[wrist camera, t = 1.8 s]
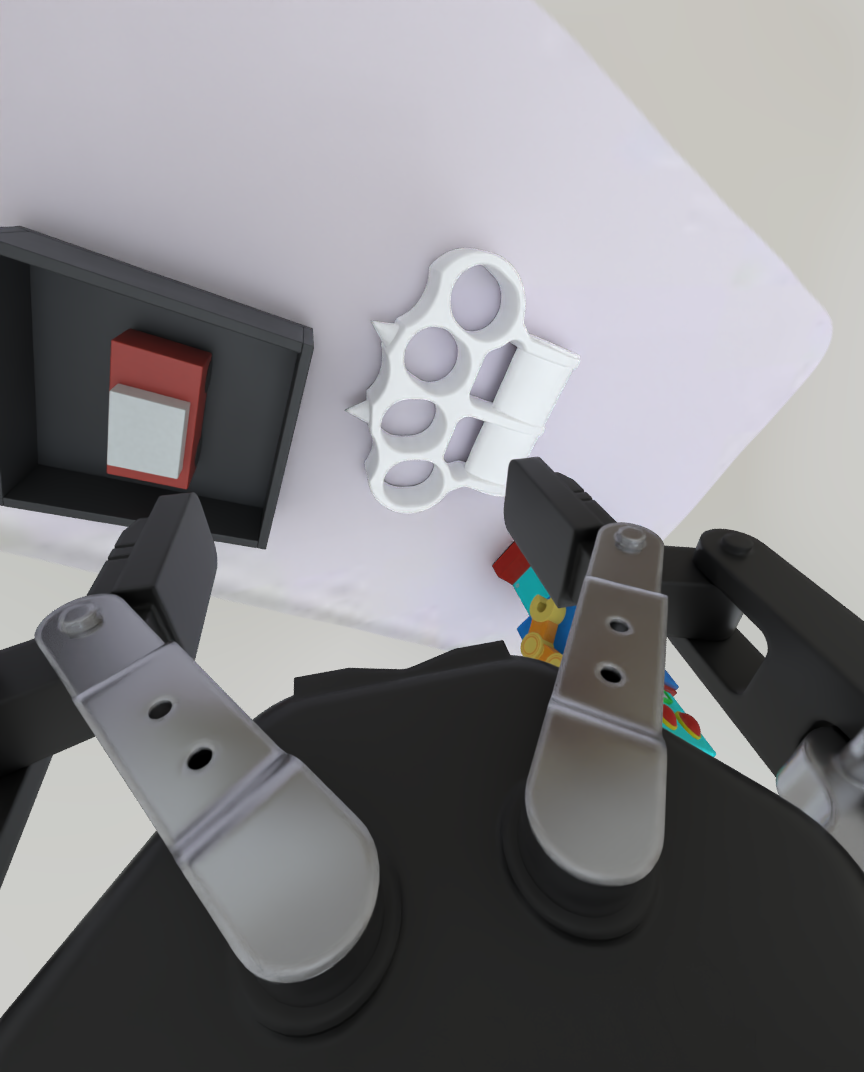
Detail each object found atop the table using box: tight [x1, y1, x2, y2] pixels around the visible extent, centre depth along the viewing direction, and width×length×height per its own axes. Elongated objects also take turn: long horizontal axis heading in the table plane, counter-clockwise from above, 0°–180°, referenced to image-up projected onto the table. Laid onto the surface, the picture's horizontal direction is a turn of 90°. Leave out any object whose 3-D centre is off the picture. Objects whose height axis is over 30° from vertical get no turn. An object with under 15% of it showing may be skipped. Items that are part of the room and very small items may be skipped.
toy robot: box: [492, 541, 716, 757], centre depth 36 cm, size 12×6×25 cm, turn 52°
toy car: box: [107, 328, 212, 489], centre depth 28 cm, size 8×4×5 cm, turn 159°
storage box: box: [0, 226, 314, 549], centre depth 28 cm, size 15×14×5 cm
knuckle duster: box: [344, 248, 580, 513], centre depth 33 cm, size 3×18×15 cm
